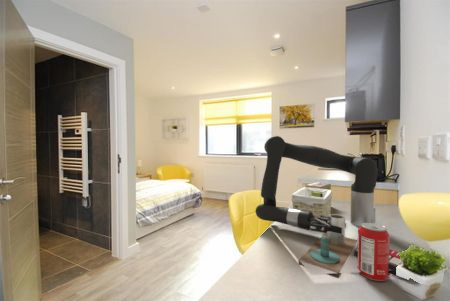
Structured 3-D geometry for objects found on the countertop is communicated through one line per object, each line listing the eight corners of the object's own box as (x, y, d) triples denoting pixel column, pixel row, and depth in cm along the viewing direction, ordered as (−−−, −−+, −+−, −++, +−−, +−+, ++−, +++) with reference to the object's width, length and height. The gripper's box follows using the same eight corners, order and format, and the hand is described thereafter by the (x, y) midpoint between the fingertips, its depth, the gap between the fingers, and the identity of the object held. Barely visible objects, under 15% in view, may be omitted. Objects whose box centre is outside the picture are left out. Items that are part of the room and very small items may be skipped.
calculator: (409, 269, 65) (353, 248, 77) (408, 283, 65) (353, 260, 77) (418, 257, 72) (366, 239, 83) (417, 270, 72) (365, 251, 84)
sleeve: (338, 238, 90) (339, 214, 90) (347, 245, 85) (348, 218, 84) (325, 239, 90) (325, 214, 89) (333, 245, 84) (333, 219, 84)
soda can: (359, 279, 66) (360, 228, 65) (355, 266, 73) (356, 220, 72) (391, 286, 62) (393, 232, 62) (385, 271, 70) (386, 223, 69)
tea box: (315, 203, 150) (316, 181, 150) (331, 206, 143) (331, 183, 143) (304, 207, 140) (305, 184, 140) (320, 211, 133) (321, 186, 133)
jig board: (325, 235, 97) (325, 216, 97) (357, 243, 89) (357, 222, 89) (298, 264, 74) (298, 238, 74) (338, 278, 66) (339, 249, 66)
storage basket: (324, 230, 104) (325, 198, 104) (290, 223, 113) (290, 193, 113) (332, 216, 124) (333, 189, 124) (302, 211, 133) (302, 186, 133)
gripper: (293, 214, 91) (339, 223, 80) (306, 206, 102) (348, 214, 91) (293, 232, 91) (338, 244, 80) (305, 223, 102) (347, 232, 91)
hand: (343, 228), depth 85 cm, fingers closed on sleeve, 5 cm apart
